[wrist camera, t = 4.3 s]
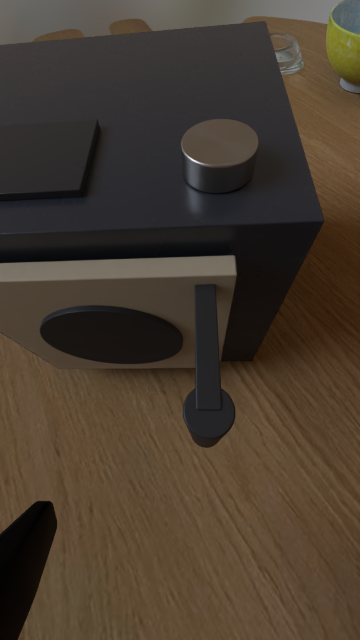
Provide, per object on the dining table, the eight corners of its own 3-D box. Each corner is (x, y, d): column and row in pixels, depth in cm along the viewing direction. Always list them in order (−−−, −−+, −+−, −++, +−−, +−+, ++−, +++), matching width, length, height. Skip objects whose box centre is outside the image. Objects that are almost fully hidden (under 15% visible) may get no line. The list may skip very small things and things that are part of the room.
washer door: (223, 450, 16) (252, 438, 7) (41, 447, 16) (-154, 434, 7) (218, 356, 18) (235, 254, 9) (61, 357, 19) (-68, 264, 10)
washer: (252, 360, 20) (340, 191, 7) (48, 362, 21) (-186, 216, 8) (237, 216, 26) (270, -9, 13) (80, 223, 27) (-24, 20, 14)
